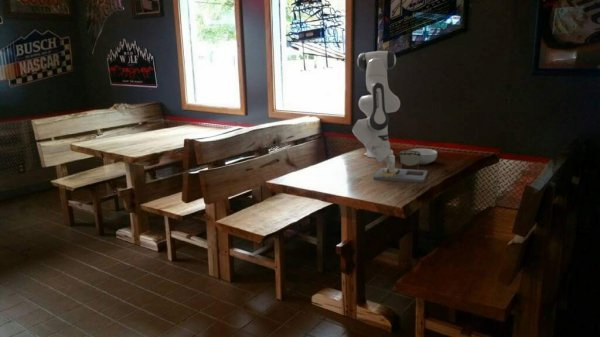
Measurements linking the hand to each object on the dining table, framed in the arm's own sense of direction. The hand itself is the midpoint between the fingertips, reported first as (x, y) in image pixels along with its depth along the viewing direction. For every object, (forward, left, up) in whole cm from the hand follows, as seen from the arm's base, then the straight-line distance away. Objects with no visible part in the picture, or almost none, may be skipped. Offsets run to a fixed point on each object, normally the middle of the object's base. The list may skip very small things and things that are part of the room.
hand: (392, 163), depth 269 cm
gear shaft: (0, -1, -5) cm, 5 cm away
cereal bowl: (-32, +12, -7) cm, 34 cm away
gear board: (+2, +5, -6) cm, 9 cm away
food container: (-17, +7, -7) cm, 19 cm away
